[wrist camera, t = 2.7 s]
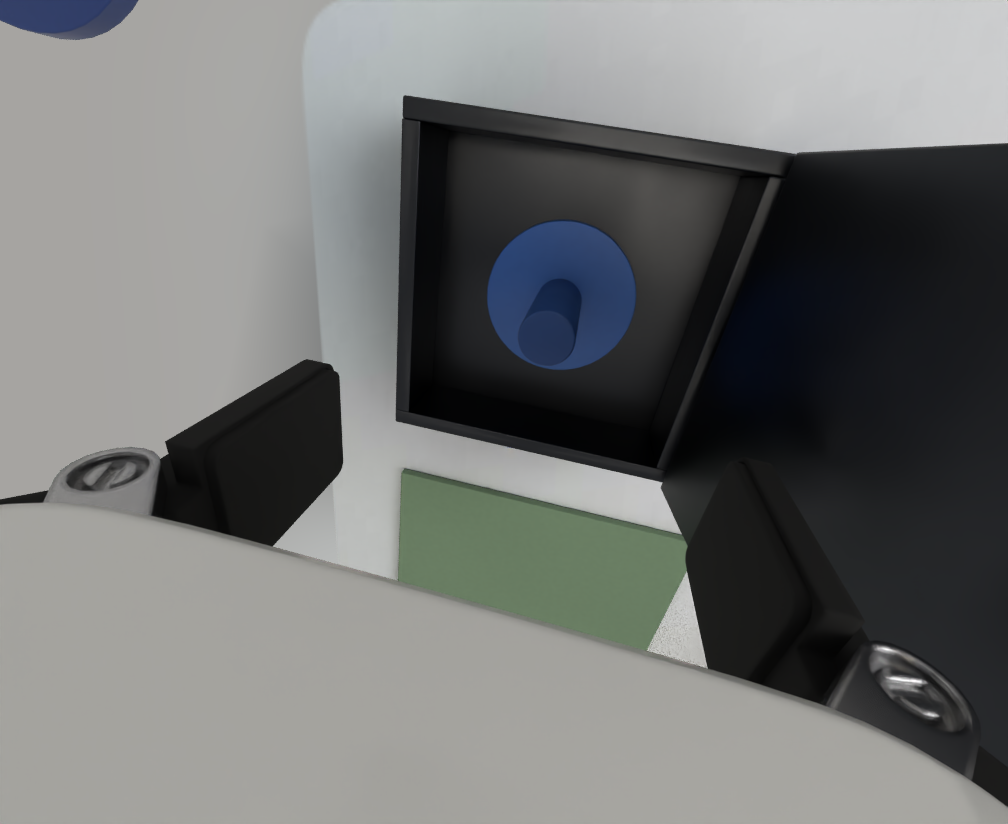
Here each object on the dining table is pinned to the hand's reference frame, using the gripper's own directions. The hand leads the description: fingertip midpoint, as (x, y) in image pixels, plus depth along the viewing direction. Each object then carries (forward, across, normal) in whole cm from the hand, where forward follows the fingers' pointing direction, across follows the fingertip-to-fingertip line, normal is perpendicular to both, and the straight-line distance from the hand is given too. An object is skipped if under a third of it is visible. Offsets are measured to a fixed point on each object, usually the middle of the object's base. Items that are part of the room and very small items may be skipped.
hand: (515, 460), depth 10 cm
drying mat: (+17, -2, +26) cm, 31 cm away
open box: (+17, 0, 0) cm, 17 cm away
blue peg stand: (+16, 0, 0) cm, 16 cm away
